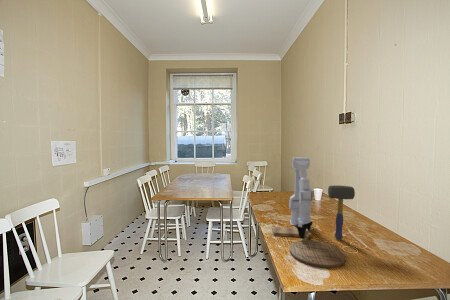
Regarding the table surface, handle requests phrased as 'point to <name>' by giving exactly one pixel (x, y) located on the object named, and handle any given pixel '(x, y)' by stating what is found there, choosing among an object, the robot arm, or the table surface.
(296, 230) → the board
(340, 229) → the rubber mallet
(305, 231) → the beige block with handle
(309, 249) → the trivet
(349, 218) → the table surface
